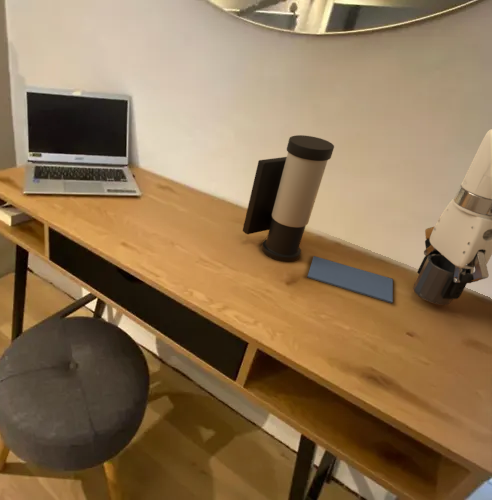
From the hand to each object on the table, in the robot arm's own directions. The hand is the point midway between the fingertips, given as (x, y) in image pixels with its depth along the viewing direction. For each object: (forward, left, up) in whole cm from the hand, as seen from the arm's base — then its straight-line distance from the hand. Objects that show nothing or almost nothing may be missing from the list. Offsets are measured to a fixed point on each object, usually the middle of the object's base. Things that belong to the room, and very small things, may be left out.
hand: (436, 285), depth 90 cm
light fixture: (+25, -18, -4) cm, 31 cm away
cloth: (+13, -7, -4) cm, 15 cm away
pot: (0, 0, -2) cm, 2 cm away
